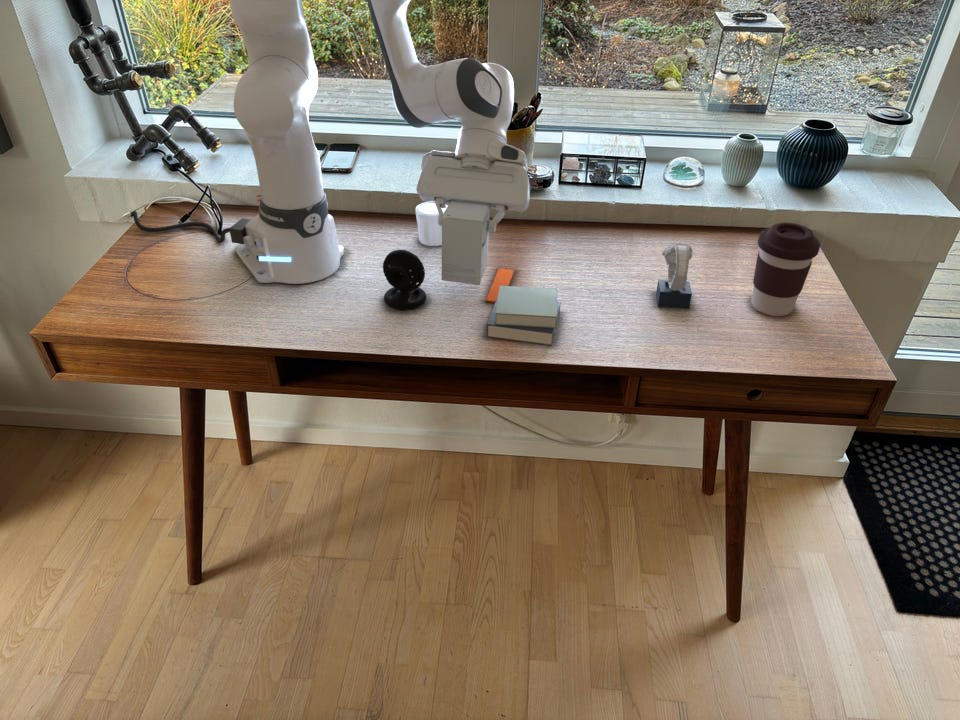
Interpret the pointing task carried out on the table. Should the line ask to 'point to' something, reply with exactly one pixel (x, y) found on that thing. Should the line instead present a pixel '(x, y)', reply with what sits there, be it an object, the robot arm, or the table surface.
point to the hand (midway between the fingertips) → (466, 228)
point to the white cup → (429, 224)
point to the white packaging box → (464, 242)
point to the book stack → (525, 315)
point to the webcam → (404, 280)
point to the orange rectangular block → (499, 283)
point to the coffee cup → (782, 267)
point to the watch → (675, 278)
